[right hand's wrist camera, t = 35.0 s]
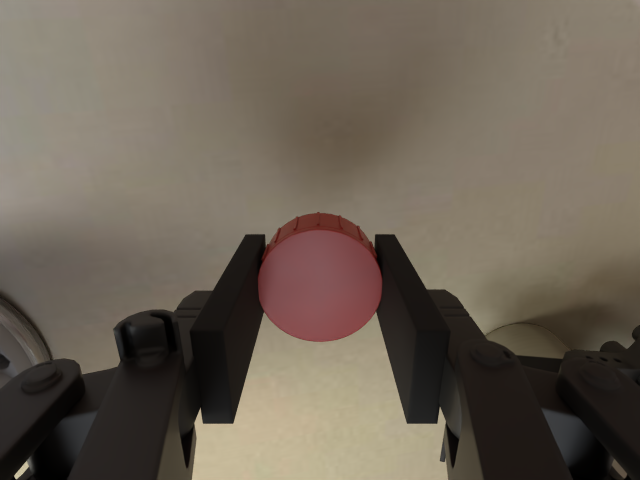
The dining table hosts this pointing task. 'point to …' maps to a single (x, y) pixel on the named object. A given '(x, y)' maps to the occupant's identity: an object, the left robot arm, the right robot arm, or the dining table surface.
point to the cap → (319, 278)
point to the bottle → (534, 348)
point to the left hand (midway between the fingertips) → (488, 428)
